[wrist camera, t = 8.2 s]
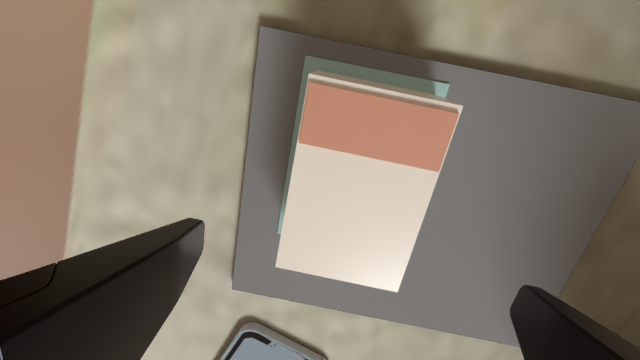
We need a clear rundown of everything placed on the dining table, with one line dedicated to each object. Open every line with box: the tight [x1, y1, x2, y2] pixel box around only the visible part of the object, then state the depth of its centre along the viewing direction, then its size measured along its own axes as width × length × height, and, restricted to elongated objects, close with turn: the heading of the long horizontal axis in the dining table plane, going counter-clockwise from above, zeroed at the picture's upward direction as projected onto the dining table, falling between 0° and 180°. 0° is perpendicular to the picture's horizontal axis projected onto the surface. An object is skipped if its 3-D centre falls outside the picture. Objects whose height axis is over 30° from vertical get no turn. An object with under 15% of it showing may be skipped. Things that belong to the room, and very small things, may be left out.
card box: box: [275, 70, 463, 292], centre depth 16 cm, size 9×6×4 cm, turn 169°
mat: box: [232, 26, 640, 347], centre depth 19 cm, size 20×16×1 cm
